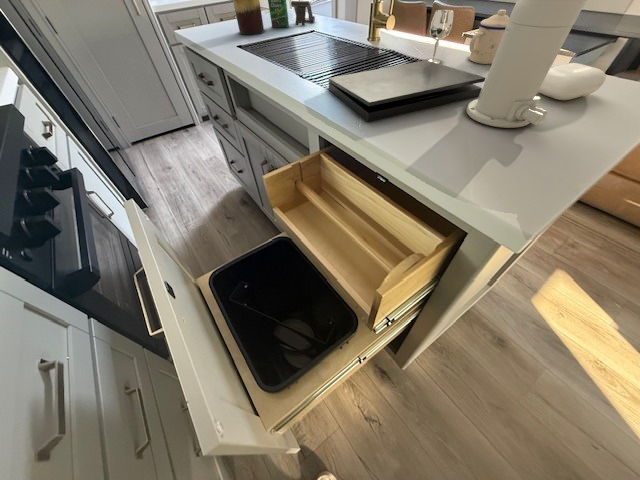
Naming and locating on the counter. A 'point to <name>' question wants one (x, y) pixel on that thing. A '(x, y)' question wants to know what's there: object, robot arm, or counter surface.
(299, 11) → the tablet stand
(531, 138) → the counter surface
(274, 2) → the coffee box
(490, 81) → the robot arm
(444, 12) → the wineglass
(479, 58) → the teacup with lid
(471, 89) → the laptop
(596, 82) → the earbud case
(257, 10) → the vase
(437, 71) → the laptop screen
